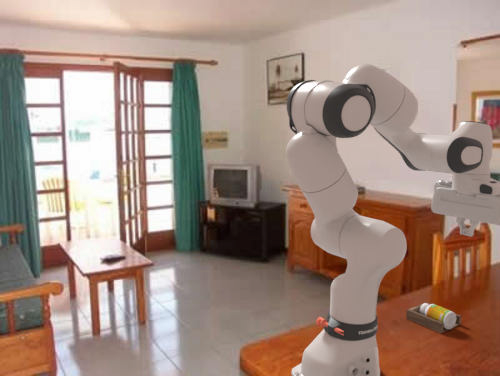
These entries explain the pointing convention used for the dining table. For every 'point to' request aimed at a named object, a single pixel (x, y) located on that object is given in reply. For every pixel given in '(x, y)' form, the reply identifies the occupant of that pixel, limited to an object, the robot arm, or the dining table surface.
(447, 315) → the supplement bottle
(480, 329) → the dining table surface
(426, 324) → the tray
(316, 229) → the robot arm
